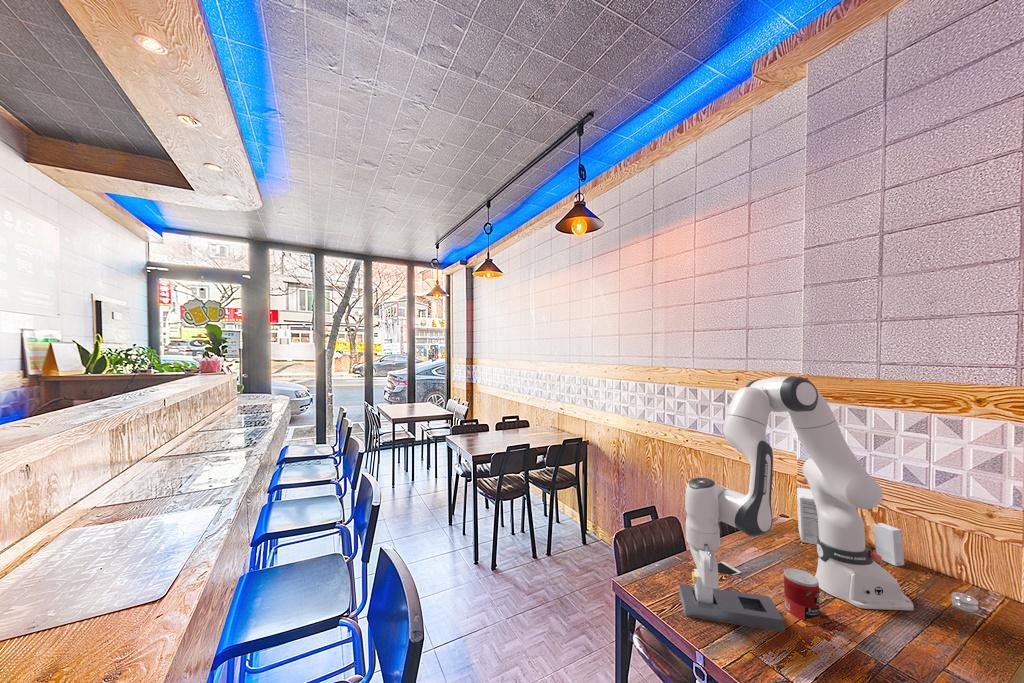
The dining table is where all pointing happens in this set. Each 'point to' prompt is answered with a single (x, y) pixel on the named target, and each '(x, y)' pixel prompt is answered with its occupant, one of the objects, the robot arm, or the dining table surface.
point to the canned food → (802, 595)
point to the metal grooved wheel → (965, 602)
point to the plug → (699, 592)
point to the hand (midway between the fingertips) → (703, 585)
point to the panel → (733, 608)
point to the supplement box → (807, 516)
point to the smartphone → (727, 569)
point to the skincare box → (889, 544)
